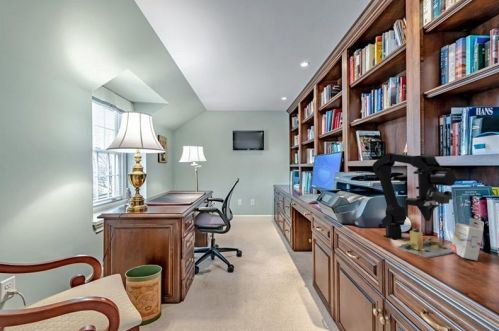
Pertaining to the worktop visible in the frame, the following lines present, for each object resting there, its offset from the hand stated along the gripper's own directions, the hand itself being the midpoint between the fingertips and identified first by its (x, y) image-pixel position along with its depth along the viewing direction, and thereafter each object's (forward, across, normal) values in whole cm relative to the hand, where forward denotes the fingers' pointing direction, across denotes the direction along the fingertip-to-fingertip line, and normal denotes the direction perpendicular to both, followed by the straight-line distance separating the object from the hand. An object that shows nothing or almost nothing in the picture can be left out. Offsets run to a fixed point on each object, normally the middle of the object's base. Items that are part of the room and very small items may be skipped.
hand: (427, 221), depth 107 cm
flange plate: (+12, -1, -1) cm, 12 cm away
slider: (+11, -6, +1) cm, 13 cm away
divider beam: (+11, -1, +1) cm, 11 cm away
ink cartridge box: (+12, +3, -11) cm, 16 cm away
